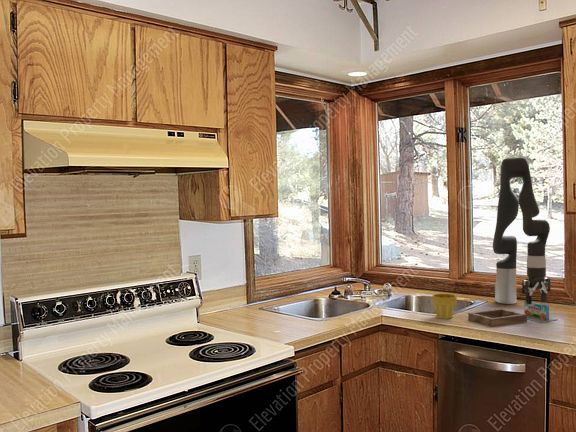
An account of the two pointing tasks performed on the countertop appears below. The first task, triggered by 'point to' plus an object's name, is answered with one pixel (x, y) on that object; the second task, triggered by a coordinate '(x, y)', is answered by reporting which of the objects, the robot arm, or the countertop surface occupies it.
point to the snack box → (537, 310)
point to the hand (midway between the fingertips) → (536, 303)
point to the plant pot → (444, 305)
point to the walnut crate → (507, 318)
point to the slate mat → (540, 319)
